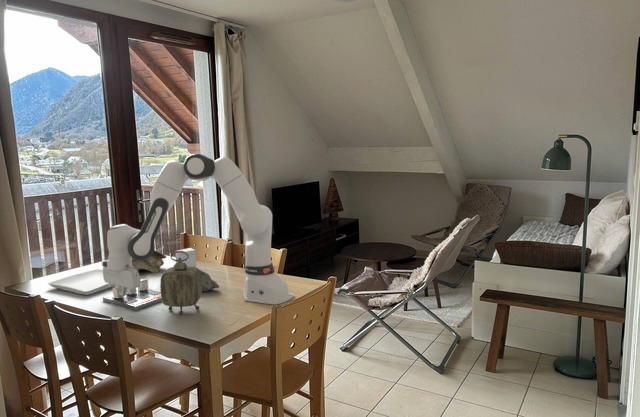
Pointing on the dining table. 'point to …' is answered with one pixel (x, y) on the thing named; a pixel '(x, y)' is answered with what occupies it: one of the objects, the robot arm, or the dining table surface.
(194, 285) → the tabletop clock
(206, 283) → the mineral rock
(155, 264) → the hollow geode rock
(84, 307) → the dining table surface
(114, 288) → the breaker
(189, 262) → the skincare box
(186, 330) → the dining table surface
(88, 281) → the square plate
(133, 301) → the panel
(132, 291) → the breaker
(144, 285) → the breaker
